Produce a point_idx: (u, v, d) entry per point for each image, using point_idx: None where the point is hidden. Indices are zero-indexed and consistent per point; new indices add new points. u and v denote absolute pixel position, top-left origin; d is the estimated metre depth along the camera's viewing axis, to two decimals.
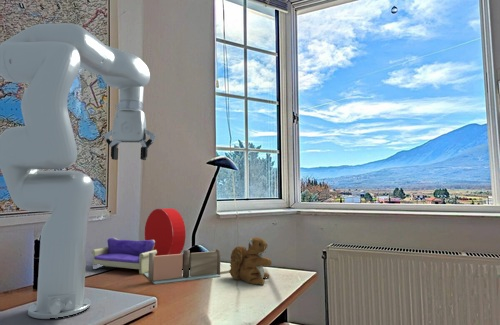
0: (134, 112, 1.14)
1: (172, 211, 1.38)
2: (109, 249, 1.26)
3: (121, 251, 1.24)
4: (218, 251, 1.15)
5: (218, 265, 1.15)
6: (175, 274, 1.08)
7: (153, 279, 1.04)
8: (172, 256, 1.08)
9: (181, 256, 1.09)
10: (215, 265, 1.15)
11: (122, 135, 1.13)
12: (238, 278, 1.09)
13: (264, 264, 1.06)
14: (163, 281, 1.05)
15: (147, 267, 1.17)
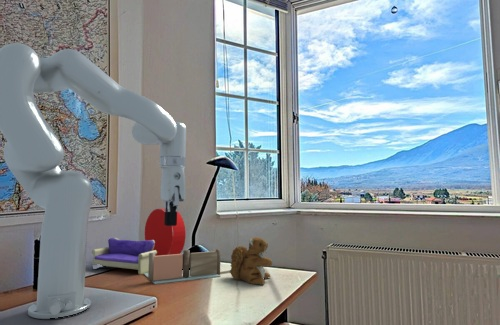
0: None
1: None
2: (110, 249, 1.26)
3: (121, 251, 1.24)
4: (218, 251, 1.15)
5: (218, 265, 1.15)
6: (175, 274, 1.08)
7: (153, 279, 1.04)
8: (172, 256, 1.08)
9: (181, 256, 1.09)
10: (215, 265, 1.15)
11: None
12: (239, 278, 1.09)
13: (264, 264, 1.06)
14: (163, 281, 1.05)
15: (146, 267, 1.17)
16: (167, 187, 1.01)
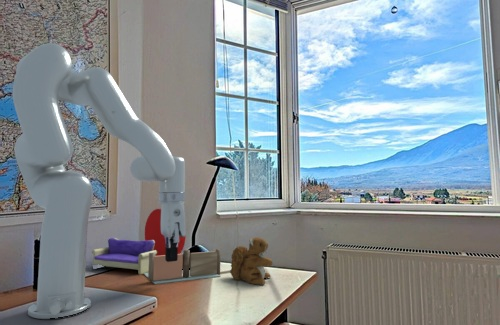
0: None
1: None
2: (109, 249, 1.26)
3: (121, 251, 1.24)
4: (218, 251, 1.15)
5: (218, 265, 1.15)
6: (175, 274, 1.08)
7: (153, 279, 1.04)
8: None
9: (181, 256, 1.09)
10: (215, 265, 1.15)
11: None
12: (239, 278, 1.09)
13: (265, 264, 1.06)
14: (163, 281, 1.05)
15: (146, 267, 1.17)
16: (167, 224, 1.00)
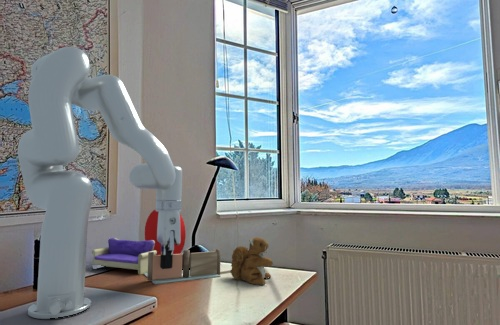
0: None
1: None
2: (110, 249, 1.26)
3: (121, 251, 1.24)
4: (218, 251, 1.15)
5: (218, 265, 1.15)
6: (174, 274, 1.08)
7: (152, 278, 1.05)
8: None
9: (181, 256, 1.09)
10: (215, 265, 1.15)
11: None
12: (239, 278, 1.09)
13: (265, 264, 1.06)
14: (163, 281, 1.05)
15: (146, 268, 1.16)
16: (163, 231, 1.02)
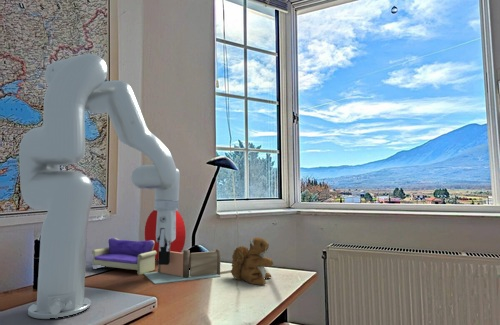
0: (175, 212, 1.15)
1: None
2: (110, 249, 1.26)
3: (121, 251, 1.24)
4: (218, 251, 1.15)
5: (218, 265, 1.15)
6: (176, 271, 1.11)
7: (160, 271, 1.15)
8: (173, 253, 1.12)
9: (180, 255, 1.11)
10: (215, 265, 1.15)
11: (173, 236, 1.11)
12: (239, 278, 1.09)
13: (265, 264, 1.06)
14: (163, 281, 1.05)
15: (146, 268, 1.16)
16: None
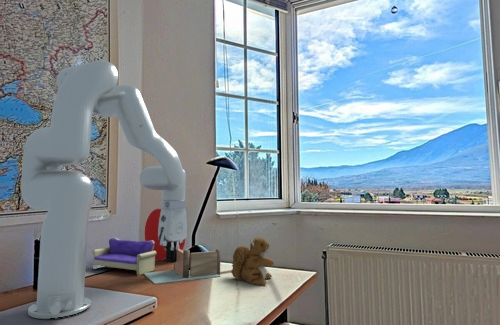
0: (183, 212, 1.17)
1: None
2: (110, 249, 1.25)
3: (121, 251, 1.23)
4: (218, 251, 1.15)
5: (218, 265, 1.15)
6: (180, 270, 1.13)
7: (174, 268, 1.19)
8: (180, 252, 1.14)
9: (182, 254, 1.12)
10: (215, 265, 1.15)
11: (176, 235, 1.13)
12: (240, 278, 1.08)
13: (266, 264, 1.06)
14: (163, 281, 1.05)
15: (145, 268, 1.16)
16: None
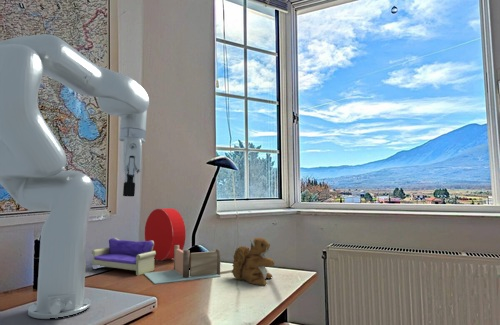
0: None
1: (172, 211, 1.38)
2: (110, 249, 1.25)
3: (121, 252, 1.23)
4: (218, 251, 1.15)
5: (218, 265, 1.15)
6: (180, 270, 1.13)
7: (174, 268, 1.19)
8: (180, 252, 1.14)
9: (182, 254, 1.12)
10: (215, 265, 1.15)
11: None
12: (240, 278, 1.08)
13: (266, 264, 1.06)
14: (163, 281, 1.05)
15: (145, 268, 1.15)
16: (123, 157, 1.03)
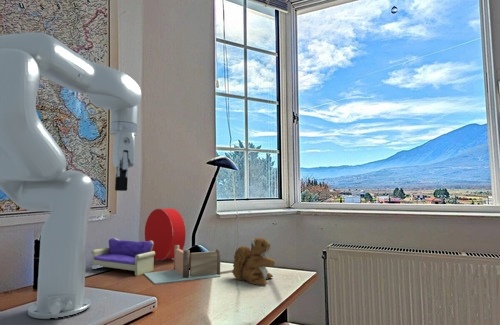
0: None
1: (172, 211, 1.38)
2: (110, 249, 1.25)
3: (121, 252, 1.23)
4: (218, 251, 1.15)
5: (218, 265, 1.15)
6: (180, 270, 1.13)
7: (174, 268, 1.19)
8: (180, 252, 1.14)
9: (182, 254, 1.12)
10: (215, 265, 1.15)
11: None
12: (241, 278, 1.08)
13: (266, 264, 1.05)
14: (163, 281, 1.05)
15: (144, 269, 1.15)
16: (116, 152, 1.02)
